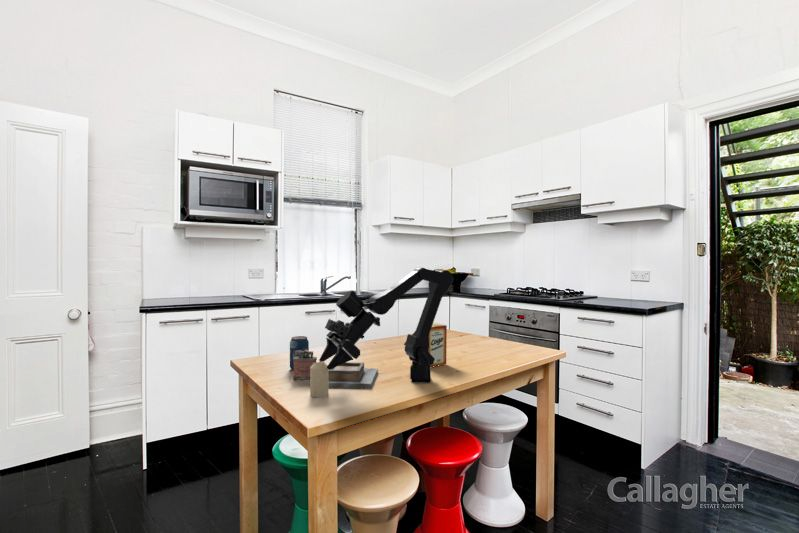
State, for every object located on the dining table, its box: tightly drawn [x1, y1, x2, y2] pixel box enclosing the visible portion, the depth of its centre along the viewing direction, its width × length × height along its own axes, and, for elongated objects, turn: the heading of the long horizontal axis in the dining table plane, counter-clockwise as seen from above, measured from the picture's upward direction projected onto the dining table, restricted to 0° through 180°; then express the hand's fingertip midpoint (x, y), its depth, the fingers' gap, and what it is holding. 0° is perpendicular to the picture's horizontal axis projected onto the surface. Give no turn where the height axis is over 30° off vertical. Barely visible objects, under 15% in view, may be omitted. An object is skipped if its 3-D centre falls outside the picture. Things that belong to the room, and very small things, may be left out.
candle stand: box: [329, 361, 379, 389], centre depth 137 cm, size 20×18×4 cm
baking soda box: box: [428, 322, 448, 368], centre depth 157 cm, size 10×6×16 cm
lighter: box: [292, 350, 318, 381], centre depth 137 cm, size 8×3×10 cm, turn 92°
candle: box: [309, 361, 330, 398], centre depth 121 cm, size 6×6×10 cm
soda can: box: [289, 335, 310, 372], centre depth 149 cm, size 7×7×12 cm
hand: (323, 365), depth 122 cm, fingers open, 9 cm apart
